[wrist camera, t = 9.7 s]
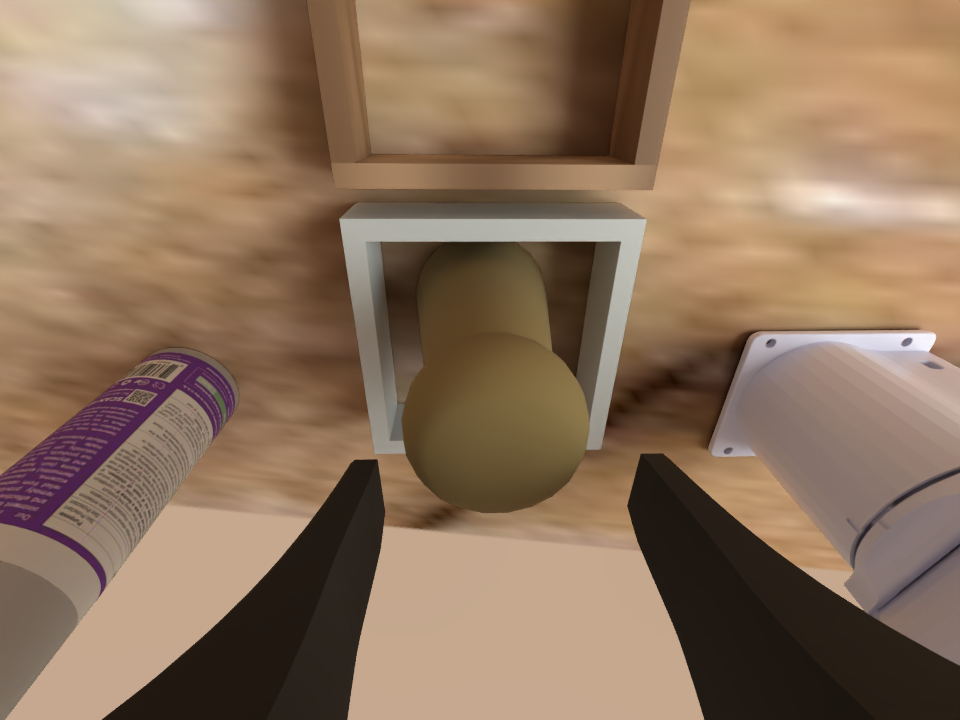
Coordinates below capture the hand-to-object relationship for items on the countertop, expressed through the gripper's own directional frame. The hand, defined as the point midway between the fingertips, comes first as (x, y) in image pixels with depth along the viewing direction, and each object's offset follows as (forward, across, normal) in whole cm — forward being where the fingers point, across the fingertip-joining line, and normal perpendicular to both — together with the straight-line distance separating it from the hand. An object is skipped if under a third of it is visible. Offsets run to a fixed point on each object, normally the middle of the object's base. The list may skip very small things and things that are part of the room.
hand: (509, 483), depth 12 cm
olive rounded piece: (+10, 0, -1) cm, 11 cm away
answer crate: (+10, 0, 0) cm, 10 cm away
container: (+10, +15, +4) cm, 19 cm away
